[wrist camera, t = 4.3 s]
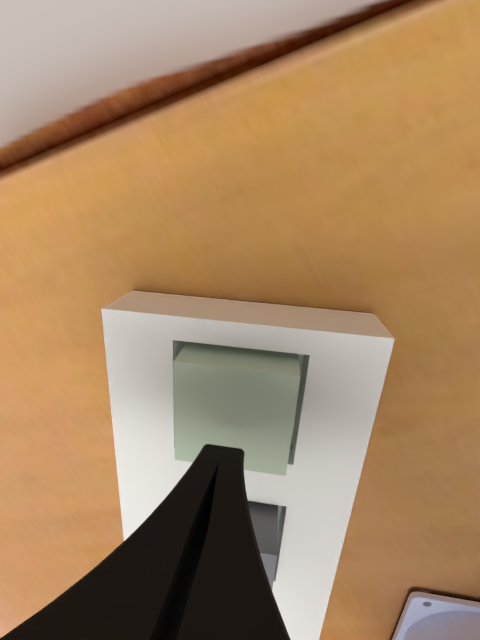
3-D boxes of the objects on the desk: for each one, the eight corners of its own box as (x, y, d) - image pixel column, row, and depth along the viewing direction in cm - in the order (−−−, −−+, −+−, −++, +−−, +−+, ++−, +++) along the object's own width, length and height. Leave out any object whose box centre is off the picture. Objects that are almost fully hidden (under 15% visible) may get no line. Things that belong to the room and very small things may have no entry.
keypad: (374, 313, 15) (394, 338, 12) (304, 627, 24) (307, 683, 21) (132, 290, 16) (101, 308, 14) (150, 597, 25) (134, 646, 22)
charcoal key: (278, 497, 17) (277, 555, 14) (269, 560, 19) (267, 623, 16) (186, 483, 17) (168, 536, 15) (186, 546, 19) (170, 604, 16)
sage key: (297, 344, 15) (300, 376, 12) (285, 430, 17) (285, 475, 14) (193, 332, 15) (173, 361, 13) (192, 417, 17) (174, 459, 14)
